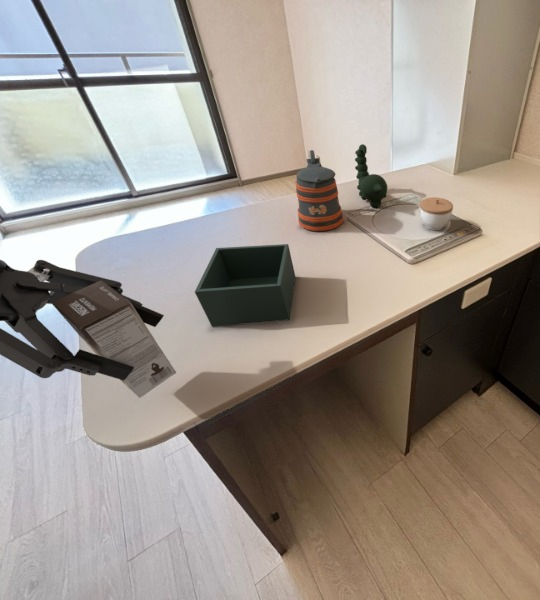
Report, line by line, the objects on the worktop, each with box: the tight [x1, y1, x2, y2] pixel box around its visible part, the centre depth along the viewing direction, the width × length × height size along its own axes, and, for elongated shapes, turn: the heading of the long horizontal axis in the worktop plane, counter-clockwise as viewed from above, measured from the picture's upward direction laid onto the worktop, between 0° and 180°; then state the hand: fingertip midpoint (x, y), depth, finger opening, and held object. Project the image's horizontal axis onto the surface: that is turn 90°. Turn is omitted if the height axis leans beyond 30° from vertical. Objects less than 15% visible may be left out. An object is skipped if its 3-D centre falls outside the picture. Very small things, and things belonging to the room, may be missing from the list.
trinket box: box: [419, 196, 454, 231], centre depth 107 cm, size 11×11×9 cm
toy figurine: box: [354, 143, 388, 208], centre depth 118 cm, size 9×19×25 cm
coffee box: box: [51, 280, 177, 399], centre depth 50 cm, size 9×6×16 cm
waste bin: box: [194, 243, 296, 328], centre depth 75 cm, size 17×17×10 cm
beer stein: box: [295, 149, 344, 232], centre depth 105 cm, size 19×15×20 cm
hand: (145, 345), depth 51 cm, fingers closed on coffee box, 10 cm apart
